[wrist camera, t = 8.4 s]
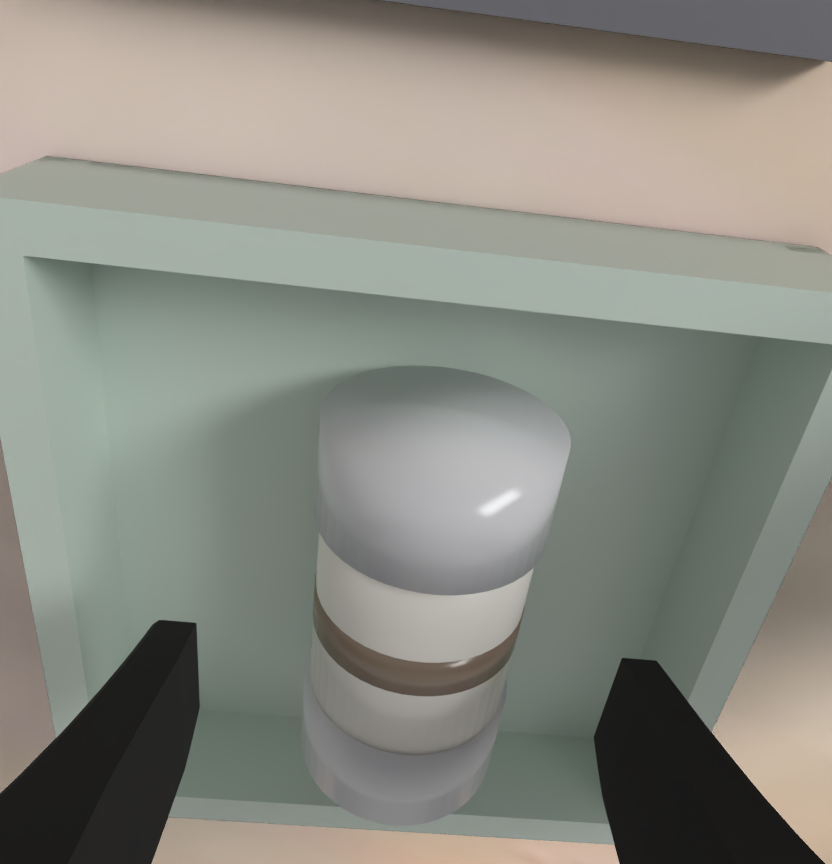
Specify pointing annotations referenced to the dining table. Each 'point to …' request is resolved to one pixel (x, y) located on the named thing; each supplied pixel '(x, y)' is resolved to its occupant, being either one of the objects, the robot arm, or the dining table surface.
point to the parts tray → (299, 443)
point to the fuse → (421, 581)
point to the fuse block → (680, 20)
